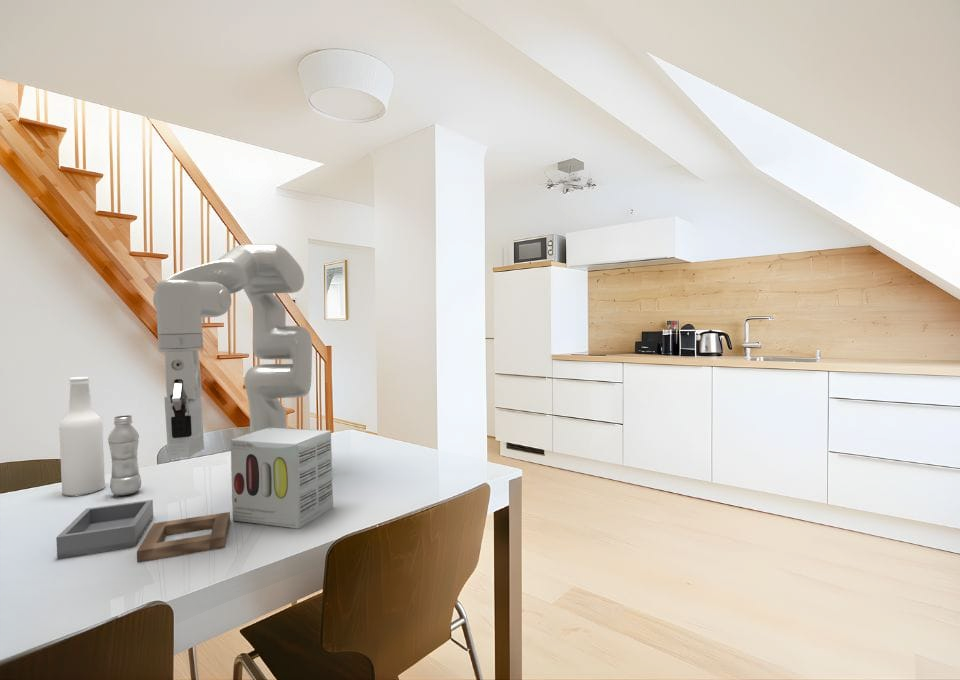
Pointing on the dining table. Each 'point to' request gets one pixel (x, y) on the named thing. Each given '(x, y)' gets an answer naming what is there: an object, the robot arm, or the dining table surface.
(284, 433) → the supplement box
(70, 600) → the dining table surface
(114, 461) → the plastic bottle
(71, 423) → the alcohol
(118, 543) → the tray
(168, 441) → the skincare box
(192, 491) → the dining table surface
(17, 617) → the dining table surface
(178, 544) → the brown square frame
